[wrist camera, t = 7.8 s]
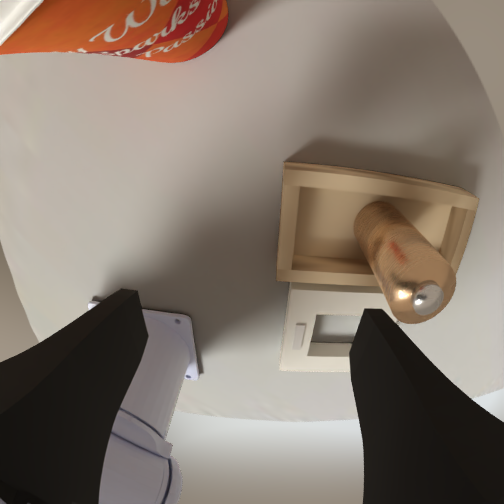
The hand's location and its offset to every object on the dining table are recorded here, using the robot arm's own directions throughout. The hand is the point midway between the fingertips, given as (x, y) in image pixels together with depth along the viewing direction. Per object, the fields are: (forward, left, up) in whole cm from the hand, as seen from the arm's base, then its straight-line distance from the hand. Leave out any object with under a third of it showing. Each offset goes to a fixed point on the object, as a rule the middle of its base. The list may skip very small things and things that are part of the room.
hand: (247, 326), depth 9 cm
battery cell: (+7, 0, -9) cm, 11 cm away
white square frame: (+6, -8, -9) cm, 14 cm away
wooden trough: (+7, 0, -9) cm, 12 cm away
